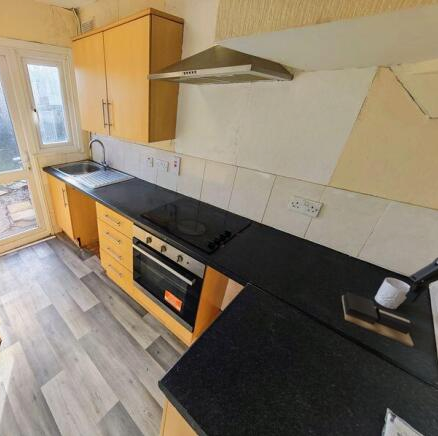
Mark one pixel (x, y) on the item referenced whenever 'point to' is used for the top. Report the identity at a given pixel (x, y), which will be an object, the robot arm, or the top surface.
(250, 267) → the top surface
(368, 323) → the mount board
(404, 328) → the loose pad
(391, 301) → the white cup
